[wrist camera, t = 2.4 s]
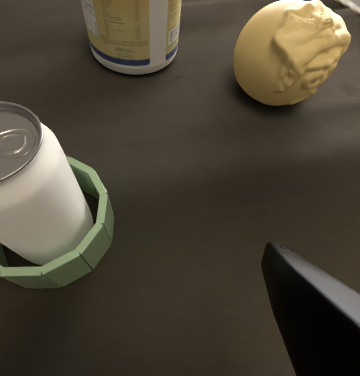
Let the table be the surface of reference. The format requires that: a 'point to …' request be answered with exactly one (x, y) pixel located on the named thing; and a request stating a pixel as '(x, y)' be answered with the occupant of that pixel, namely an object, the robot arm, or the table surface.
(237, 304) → the table surface
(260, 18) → the sculpture
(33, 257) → the can
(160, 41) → the supplement tub
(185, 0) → the table surface
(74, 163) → the segmented ring
